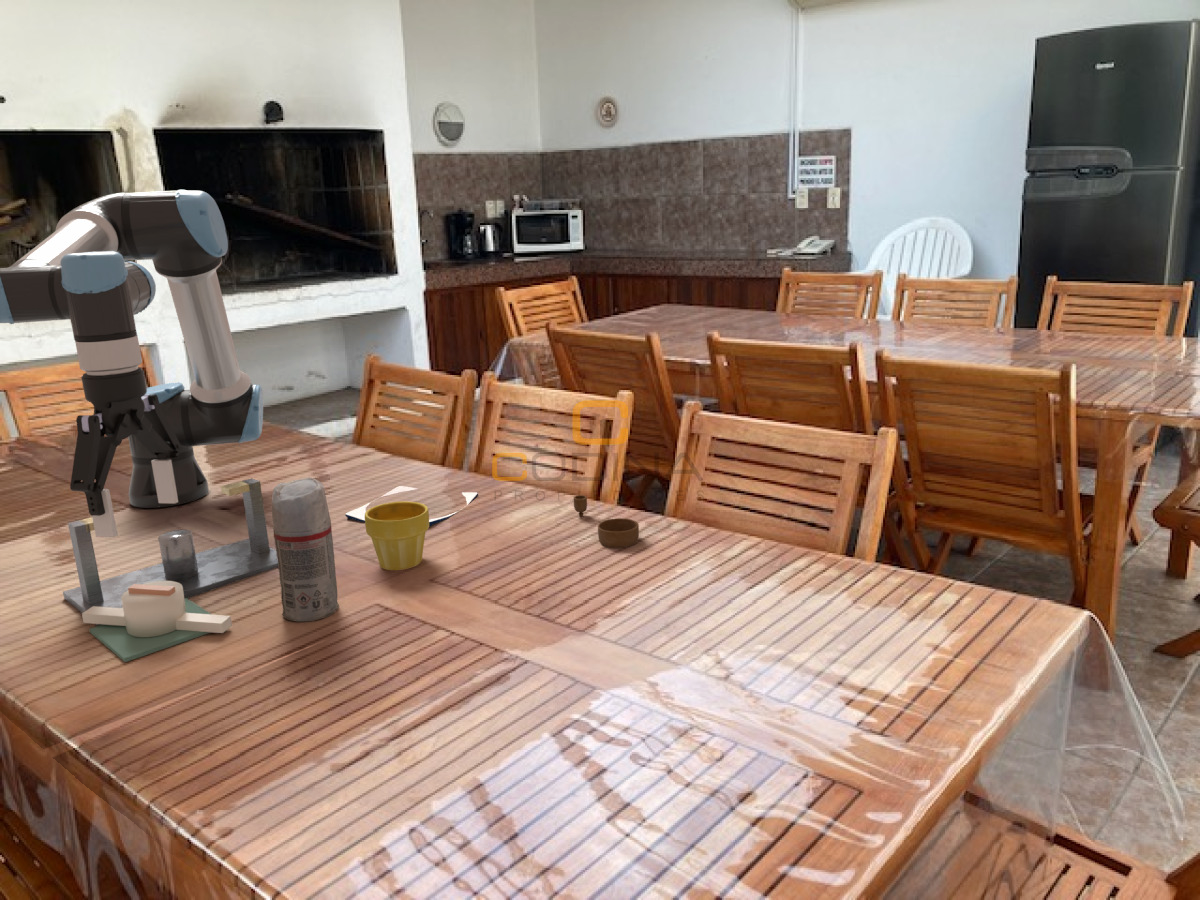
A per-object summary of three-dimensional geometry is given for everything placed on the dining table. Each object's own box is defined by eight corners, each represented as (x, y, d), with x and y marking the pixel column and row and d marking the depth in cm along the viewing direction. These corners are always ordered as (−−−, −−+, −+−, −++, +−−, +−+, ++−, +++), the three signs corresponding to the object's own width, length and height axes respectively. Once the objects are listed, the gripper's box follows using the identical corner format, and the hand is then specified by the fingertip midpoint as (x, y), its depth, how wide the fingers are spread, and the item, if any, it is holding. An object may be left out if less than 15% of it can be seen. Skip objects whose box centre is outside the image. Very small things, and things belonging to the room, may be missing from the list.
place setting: (564, 566, 155) (562, 532, 153) (571, 525, 174) (569, 495, 172) (670, 563, 154) (669, 529, 152) (665, 522, 173) (665, 492, 172)
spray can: (353, 603, 142) (338, 476, 137) (320, 626, 134) (303, 493, 129) (306, 597, 145) (289, 473, 139) (271, 620, 137) (253, 489, 132)
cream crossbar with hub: (242, 616, 137) (237, 580, 136) (211, 642, 130) (206, 604, 128) (107, 607, 141) (101, 571, 139) (70, 631, 133) (62, 594, 132)
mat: (187, 601, 145) (186, 597, 145) (226, 627, 135) (225, 623, 135) (90, 632, 136) (89, 628, 135) (125, 662, 126) (124, 658, 126)
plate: (338, 528, 177) (336, 515, 176) (399, 496, 195) (398, 484, 194) (431, 538, 169) (429, 524, 169) (485, 504, 187) (484, 491, 187)
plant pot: (445, 558, 158) (440, 503, 156) (409, 581, 149) (403, 523, 147) (395, 551, 162) (390, 498, 160) (357, 573, 153) (350, 517, 151)
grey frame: (251, 544, 169) (240, 470, 166) (294, 564, 158) (283, 486, 155) (64, 598, 148) (47, 516, 145) (98, 627, 137) (81, 538, 134)
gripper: (145, 353, 138) (168, 490, 144) (17, 389, 115) (51, 551, 120) (191, 352, 137) (213, 490, 143) (71, 389, 113) (103, 552, 119)
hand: (139, 518), depth 131 cm, fingers open, 13 cm apart
